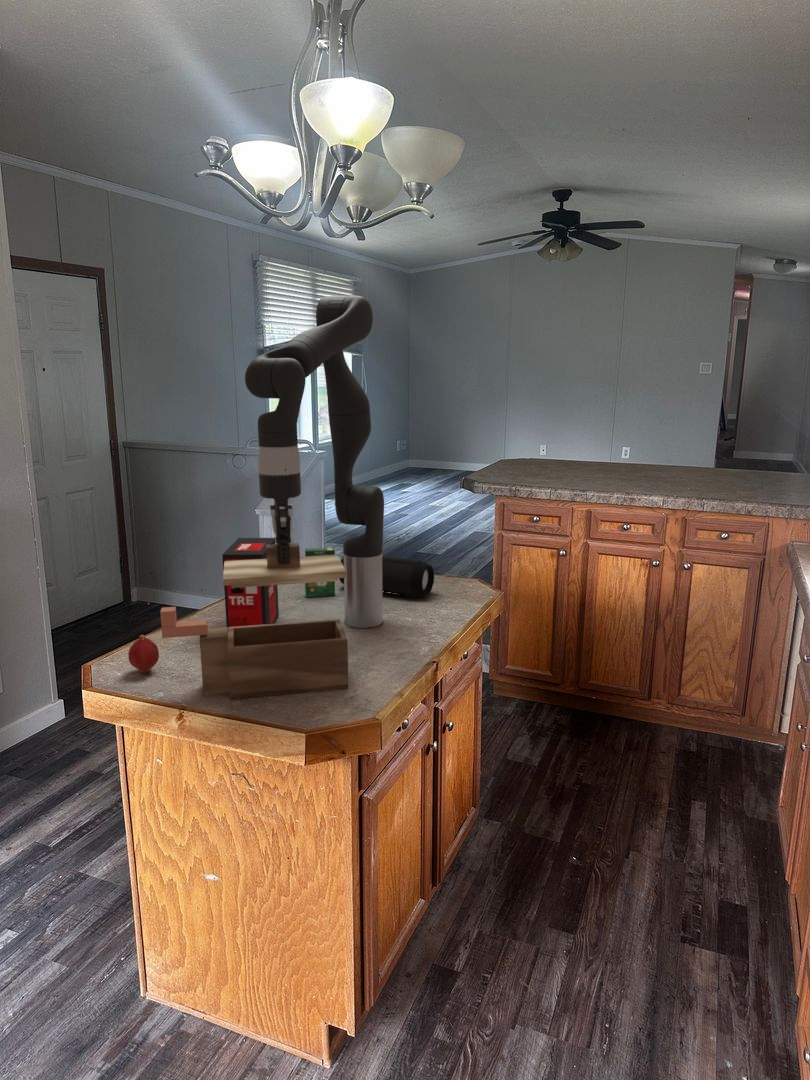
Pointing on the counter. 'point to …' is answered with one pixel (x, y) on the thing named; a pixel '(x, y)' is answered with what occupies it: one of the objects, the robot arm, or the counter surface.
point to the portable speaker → (405, 576)
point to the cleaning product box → (250, 588)
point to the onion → (143, 654)
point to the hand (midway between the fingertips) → (283, 561)
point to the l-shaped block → (180, 625)
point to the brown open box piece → (275, 659)
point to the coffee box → (320, 587)
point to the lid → (283, 569)
